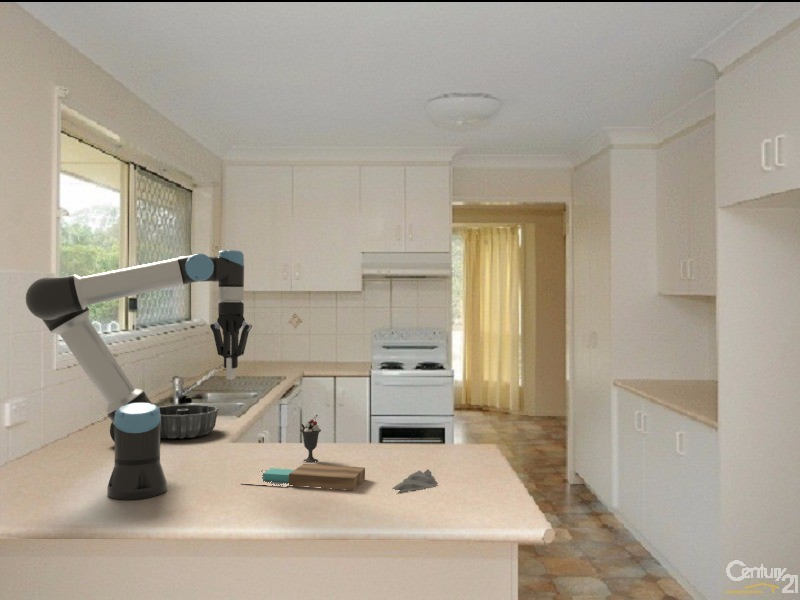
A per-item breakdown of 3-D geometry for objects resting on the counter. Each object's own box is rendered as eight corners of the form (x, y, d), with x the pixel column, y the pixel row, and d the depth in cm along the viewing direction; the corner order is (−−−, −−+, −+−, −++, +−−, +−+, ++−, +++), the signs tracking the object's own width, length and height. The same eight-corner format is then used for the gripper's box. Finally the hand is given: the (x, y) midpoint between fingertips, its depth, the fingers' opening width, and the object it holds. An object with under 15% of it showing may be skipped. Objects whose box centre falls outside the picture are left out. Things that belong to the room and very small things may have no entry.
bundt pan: (166, 427, 274) (166, 402, 274) (228, 429, 271) (229, 404, 271) (132, 441, 248) (132, 414, 248) (200, 444, 245) (200, 416, 245)
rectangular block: (292, 482, 195) (292, 475, 195) (263, 480, 197) (263, 473, 197) (299, 476, 201) (299, 470, 201) (271, 474, 203) (271, 468, 203)
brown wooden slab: (353, 491, 188) (353, 478, 188) (288, 486, 192) (288, 474, 192) (364, 479, 200) (365, 467, 200) (303, 475, 204) (303, 463, 204)
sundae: (325, 460, 221) (325, 414, 221) (309, 464, 216) (309, 417, 216) (312, 457, 226) (312, 412, 226) (296, 460, 221) (296, 414, 221)
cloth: (411, 500, 182) (412, 492, 182) (370, 491, 190) (371, 483, 190) (459, 479, 204) (459, 471, 204) (421, 471, 211) (421, 464, 211)
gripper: (256, 301, 208) (255, 378, 208) (217, 301, 211) (216, 376, 211) (245, 301, 201) (245, 381, 201) (205, 301, 204) (204, 379, 204)
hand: (230, 378), depth 206 cm, fingers closed
